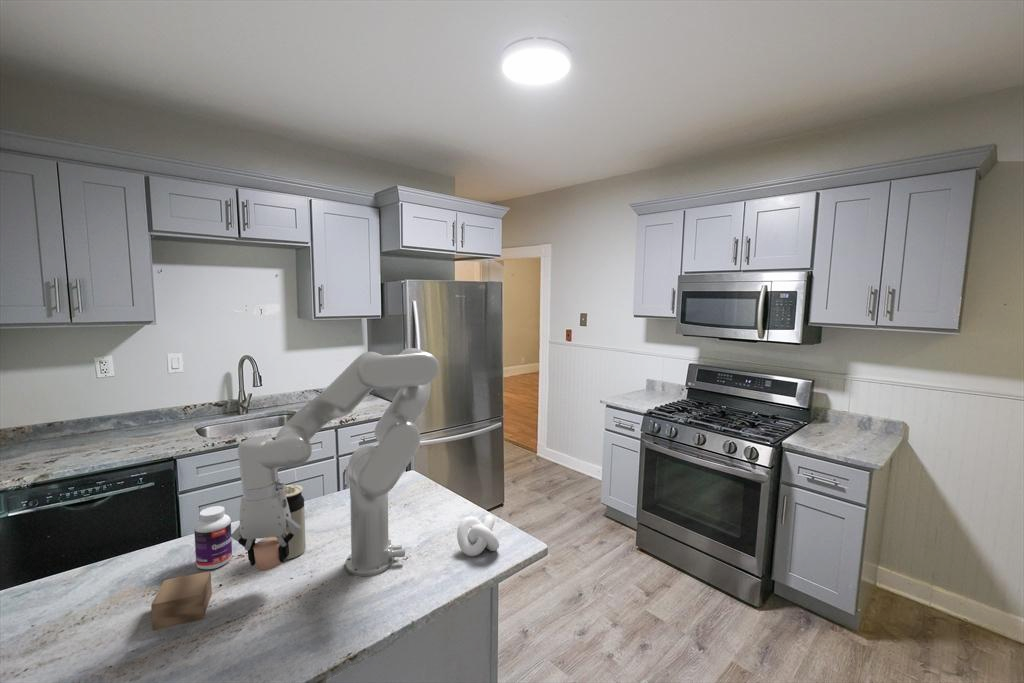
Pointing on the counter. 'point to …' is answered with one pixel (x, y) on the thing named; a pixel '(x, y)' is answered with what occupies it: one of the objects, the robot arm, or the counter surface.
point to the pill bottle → (213, 538)
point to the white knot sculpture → (477, 535)
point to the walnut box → (181, 600)
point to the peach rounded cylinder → (267, 554)
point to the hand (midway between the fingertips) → (269, 560)
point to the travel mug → (296, 519)
